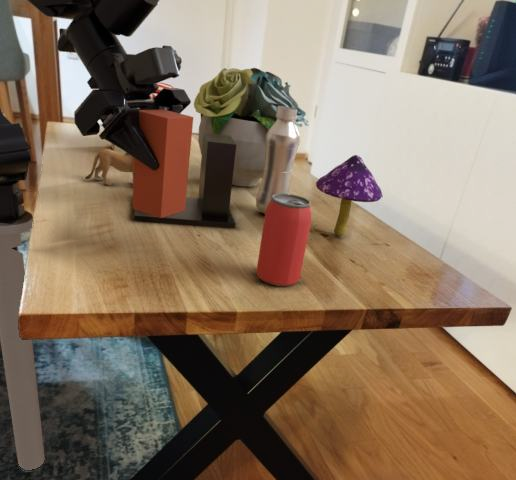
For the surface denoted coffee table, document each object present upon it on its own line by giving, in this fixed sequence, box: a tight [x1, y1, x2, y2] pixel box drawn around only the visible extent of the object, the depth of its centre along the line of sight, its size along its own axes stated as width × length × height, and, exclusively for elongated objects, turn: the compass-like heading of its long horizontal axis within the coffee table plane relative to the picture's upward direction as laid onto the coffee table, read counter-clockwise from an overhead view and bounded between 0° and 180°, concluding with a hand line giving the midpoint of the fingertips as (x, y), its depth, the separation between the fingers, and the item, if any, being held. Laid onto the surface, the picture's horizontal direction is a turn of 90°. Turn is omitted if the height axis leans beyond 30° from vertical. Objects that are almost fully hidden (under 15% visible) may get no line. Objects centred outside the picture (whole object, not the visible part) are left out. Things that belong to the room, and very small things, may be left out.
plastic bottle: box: [255, 106, 301, 215], centre depth 98 cm, size 6×7×20 cm
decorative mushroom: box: [315, 154, 384, 237], centre depth 94 cm, size 12×12×15 cm
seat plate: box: [133, 133, 237, 229], centre depth 93 cm, size 18×14×14 cm
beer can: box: [255, 193, 312, 287], centre depth 73 cm, size 7×7×12 cm
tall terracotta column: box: [132, 110, 194, 218], centre depth 71 cm, size 5×6×13 cm
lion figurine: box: [84, 148, 134, 186], centre depth 104 cm, size 15×5×9 cm, turn 103°
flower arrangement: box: [193, 67, 310, 188], centre depth 115 cm, size 25×25×24 cm
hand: (170, 165), depth 70 cm, fingers closed on tall terracotta column, 6 cm apart
